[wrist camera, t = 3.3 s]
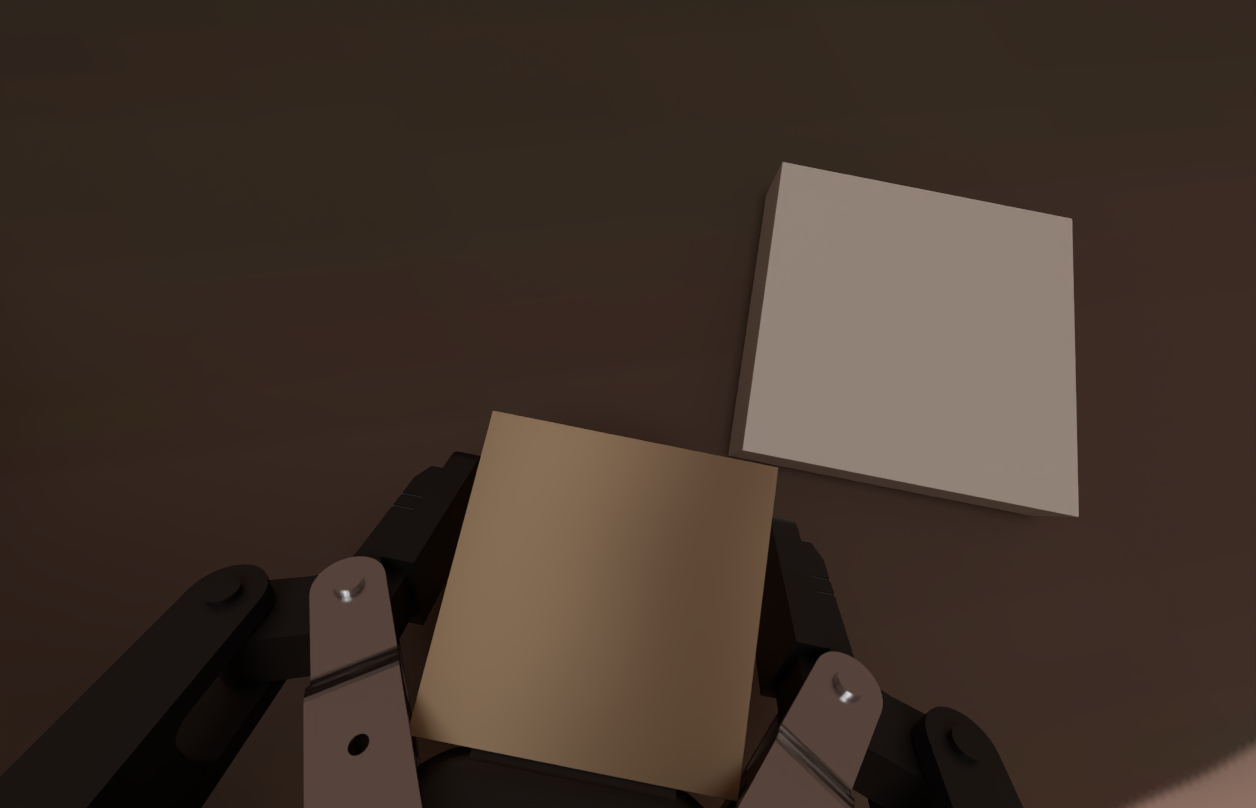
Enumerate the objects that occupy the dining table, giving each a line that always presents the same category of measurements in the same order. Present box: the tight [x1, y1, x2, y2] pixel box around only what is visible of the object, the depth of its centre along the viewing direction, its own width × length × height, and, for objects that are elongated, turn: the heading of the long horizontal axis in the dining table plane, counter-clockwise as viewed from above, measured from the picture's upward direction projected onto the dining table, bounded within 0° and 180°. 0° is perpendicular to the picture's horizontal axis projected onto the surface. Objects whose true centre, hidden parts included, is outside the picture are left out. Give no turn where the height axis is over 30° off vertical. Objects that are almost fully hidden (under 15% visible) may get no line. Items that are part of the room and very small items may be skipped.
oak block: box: [410, 411, 778, 801], centre depth 12 cm, size 5×5×10 cm
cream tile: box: [728, 162, 1079, 517], centre depth 18 cm, size 12×12×2 cm
